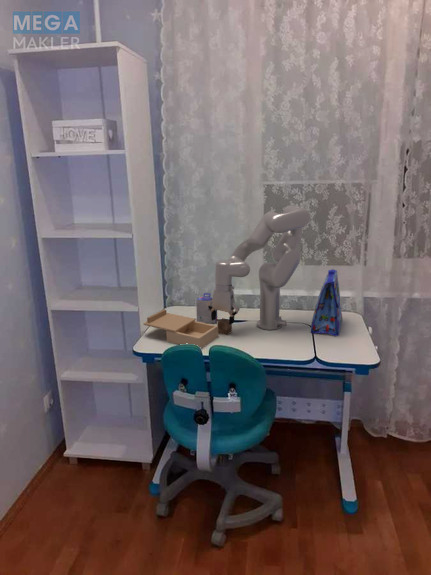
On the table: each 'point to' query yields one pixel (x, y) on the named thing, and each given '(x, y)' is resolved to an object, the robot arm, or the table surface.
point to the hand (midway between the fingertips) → (222, 321)
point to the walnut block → (224, 326)
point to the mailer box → (194, 334)
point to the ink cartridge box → (204, 309)
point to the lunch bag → (328, 307)
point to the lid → (168, 321)
